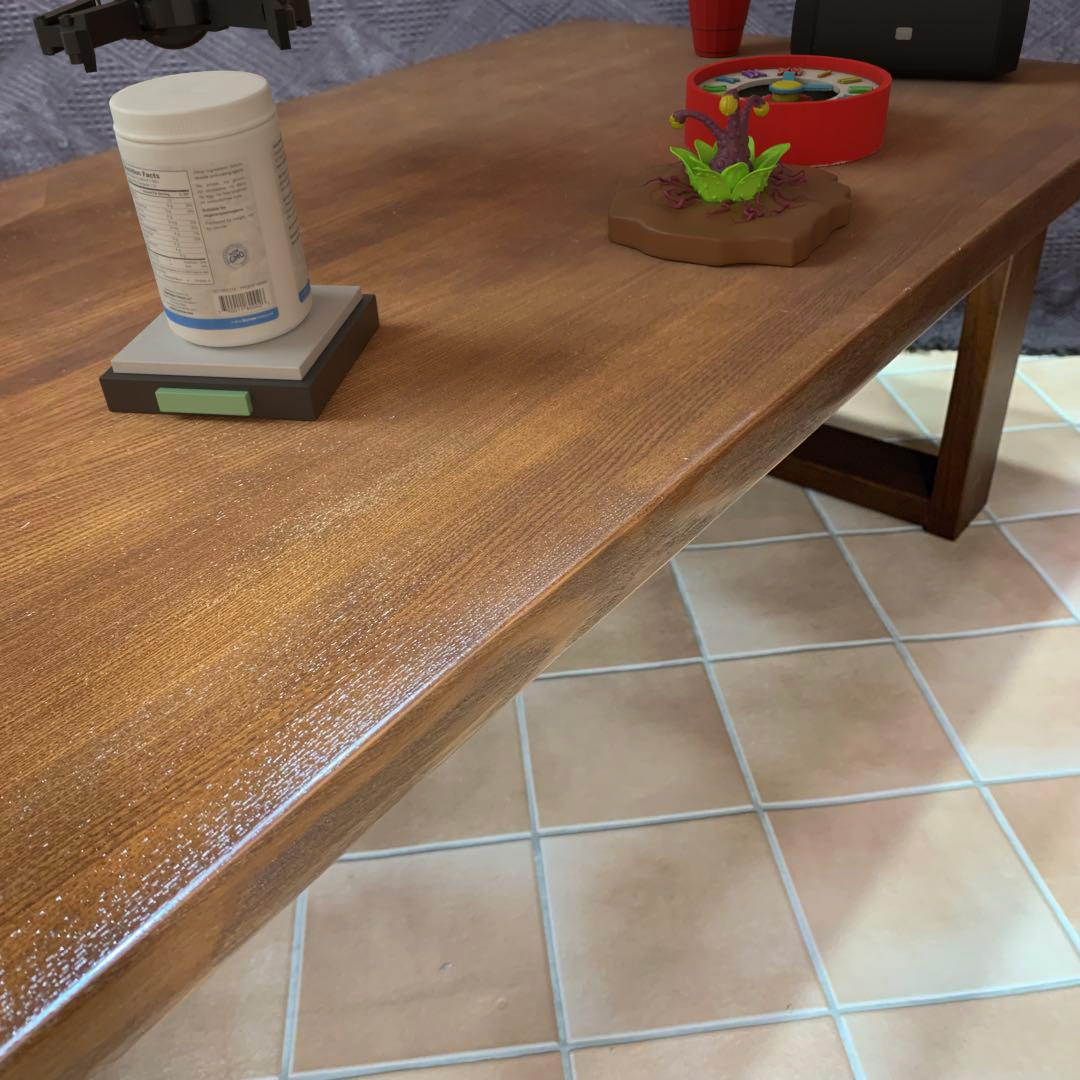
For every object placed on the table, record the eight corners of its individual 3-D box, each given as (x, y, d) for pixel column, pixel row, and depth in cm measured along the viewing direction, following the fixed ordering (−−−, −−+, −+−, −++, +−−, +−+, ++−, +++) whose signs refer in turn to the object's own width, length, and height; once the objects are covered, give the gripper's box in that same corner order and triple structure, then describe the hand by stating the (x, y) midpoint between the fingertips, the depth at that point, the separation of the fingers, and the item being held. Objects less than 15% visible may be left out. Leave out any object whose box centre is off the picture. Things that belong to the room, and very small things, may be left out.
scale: (104, 416, 69) (89, 369, 67) (200, 319, 80) (189, 277, 78) (312, 426, 66) (303, 378, 65) (380, 325, 78) (373, 281, 76)
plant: (575, 253, 88) (571, 109, 81) (646, 178, 102) (647, 51, 95) (824, 278, 81) (842, 124, 74) (862, 195, 96) (880, 60, 89)
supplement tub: (234, 283, 77) (185, 64, 68) (343, 303, 73) (306, 73, 65) (137, 339, 70) (69, 103, 61) (252, 363, 66) (197, 116, 58)
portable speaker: (785, 81, 129) (793, -11, 123) (798, 62, 137) (806, -26, 131) (1013, 89, 122) (1033, -9, 116) (1014, 68, 129) (1032, -25, 123)
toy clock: (674, 103, 101) (697, 54, 117) (672, 165, 105) (695, 110, 120) (895, 105, 97) (889, 54, 113) (886, 170, 101) (881, 112, 116)
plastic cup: (738, 65, 137) (744, -41, 130) (662, 58, 142) (664, -45, 135) (772, 47, 144) (780, -54, 137) (699, 41, 149) (703, -57, 142)
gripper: (-5, -41, 87) (-21, 0, 71) (302, -68, 93) (352, -37, 77) (25, 59, 91) (16, 118, 75) (316, 26, 98) (366, 75, 81)
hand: (186, 40), depth 76 cm, fingers open, 13 cm apart
